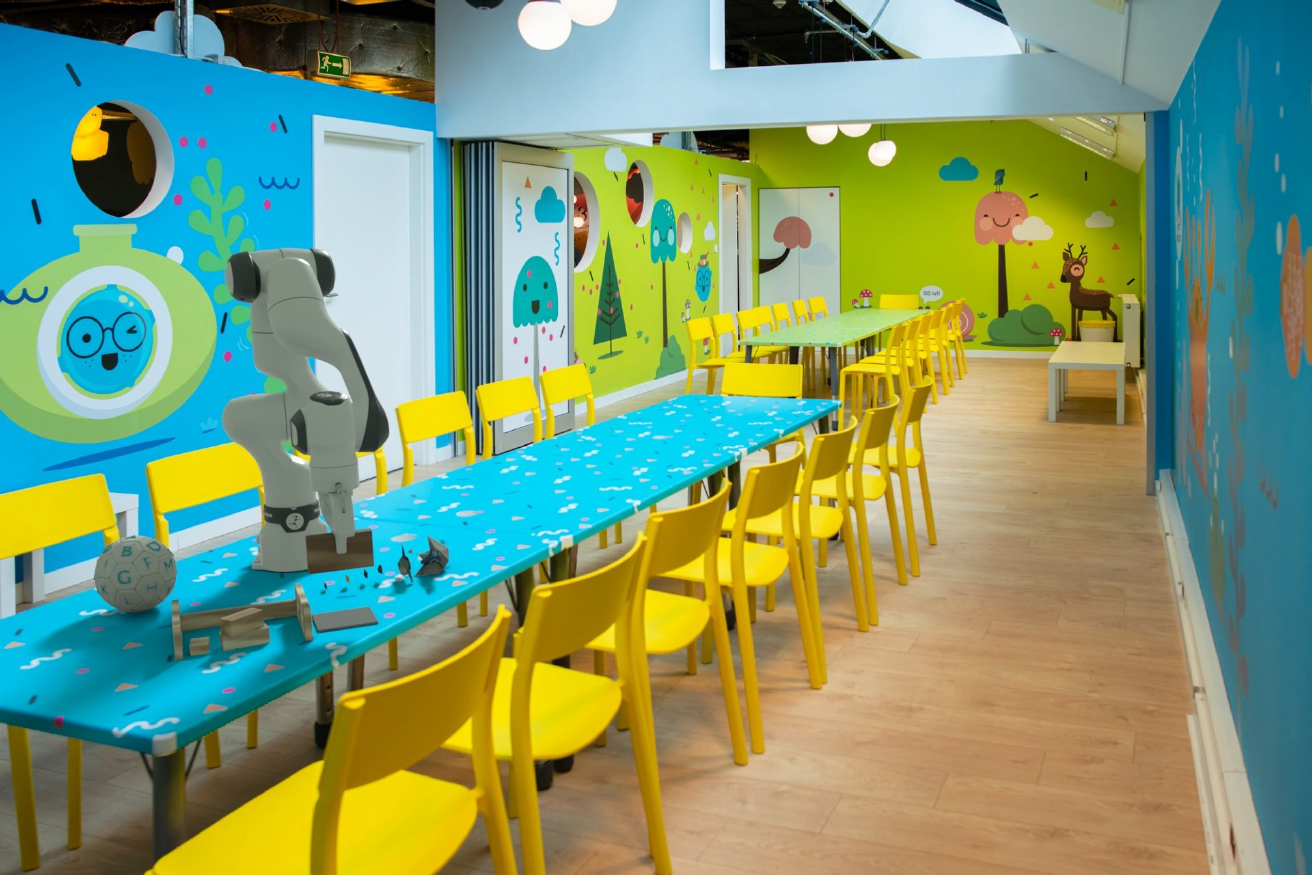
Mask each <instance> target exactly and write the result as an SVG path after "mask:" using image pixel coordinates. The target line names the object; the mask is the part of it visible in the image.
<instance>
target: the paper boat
mask: <svg viewBox="0 0 1312 875" xmlns="http://www.w3.org/2000/svg"><path fill="white" fill-rule="evenodd" d="M427 540H428V541H427V542H428V546H429V550H427V551H424V552H422V553H419V554H418V553H414V552H413V548H410V549H409V550H408V551H407V553H408V554H413V555H417V556H418V557H420V559H421V560H422V559H423V558H425V557H426V556H427V555H428V554H429V552H430V550H431V549H432V551H433V552H434V553H436V554H437V550H438V555H440V561H439V560H438V559H437V560H436V562H439V563H440V564H441V565H442V566H443V567H444V568H442V567H441V566H440V564H439V563H436V562H434V563H430V564H427V565H425V566H424V564H425V563H424V564H422V565H421V567H420V568H419V569H418V570H417V572H416V574H414V577H421V576H422V577H423V576H430V575H437V574H441V572H443V571H444V570H445V568H446V567H447V565H448V563H449V562H450V555H449V554H450V552H449V547H448V546H446V545H444V544H443V543H441V542H439V541H438V540H436V539H435V538H433V537H431V536H430V535H427ZM436 546H437V547H436ZM423 566H424V567H423ZM422 567H423V568H422ZM421 568H422V573H423V574H421Z"/></svg>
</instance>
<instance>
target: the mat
mask: <svg viewBox="0 0 1312 875" xmlns="http://www.w3.org/2000/svg"><path fill="white" fill-rule="evenodd" d="M311 618H312V620H313V622H314V625H315V627H316V631H317V632H318V633H322V632H328V631H336V630H337V631H338V630H344V629H350V628H357V627H364V626H369V625H371V626H372V625H378V624H379V621H378V618H377V617H376V614H375V613H374V612H373V609H372V608H371V606H363V607H356V608H355V607H354V608H349V609H347V608H346V609H341V610H335V611H328V612H320V613H311Z"/></svg>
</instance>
